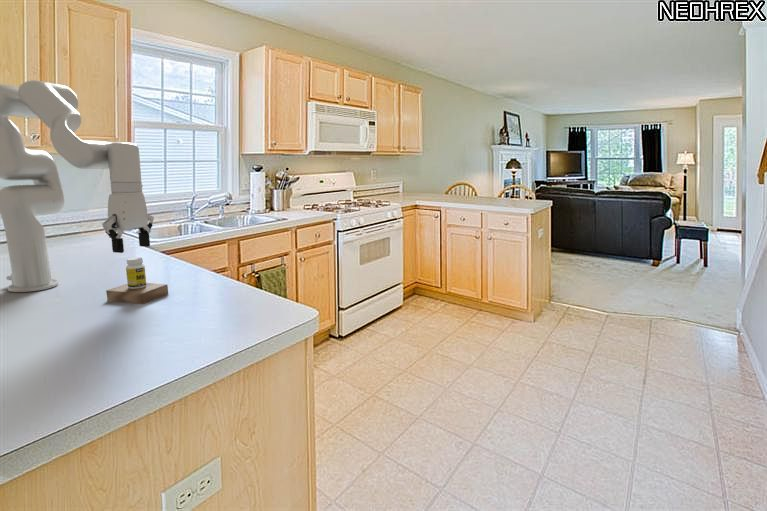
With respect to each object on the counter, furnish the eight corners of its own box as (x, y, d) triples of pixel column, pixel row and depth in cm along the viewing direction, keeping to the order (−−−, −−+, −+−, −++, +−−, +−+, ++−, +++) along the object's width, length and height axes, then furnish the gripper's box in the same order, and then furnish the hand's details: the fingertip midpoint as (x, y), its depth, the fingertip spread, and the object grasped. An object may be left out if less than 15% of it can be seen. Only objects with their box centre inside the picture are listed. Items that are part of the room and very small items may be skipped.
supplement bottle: (138, 289, 130) (135, 260, 128) (124, 288, 131) (120, 259, 129) (150, 285, 134) (147, 257, 133) (136, 284, 135) (133, 256, 134)
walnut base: (107, 300, 130) (106, 290, 129) (134, 291, 139) (133, 281, 139) (143, 303, 127) (142, 293, 126) (168, 294, 136) (167, 284, 136)
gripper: (139, 186, 136) (143, 243, 140) (88, 189, 120) (95, 254, 123) (160, 187, 134) (164, 245, 138) (112, 190, 118) (118, 256, 121)
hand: (132, 249), depth 130 cm, fingers open, 9 cm apart
